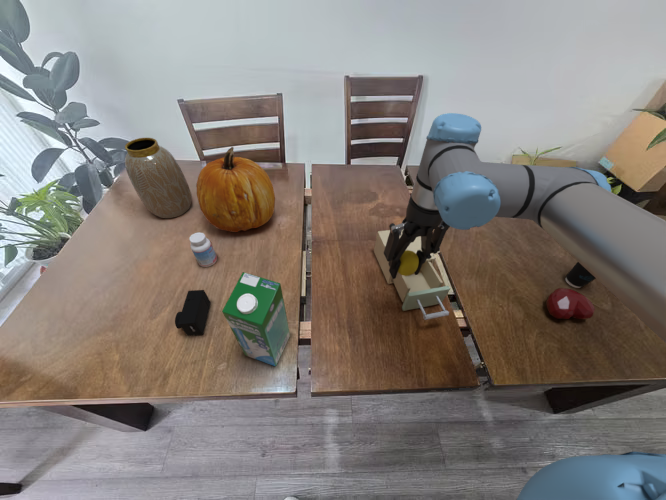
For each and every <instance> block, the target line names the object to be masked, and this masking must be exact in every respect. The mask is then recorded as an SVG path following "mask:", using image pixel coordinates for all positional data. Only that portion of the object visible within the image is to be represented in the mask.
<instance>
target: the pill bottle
mask: <svg viewBox="0 0 666 500" xmlns="http://www.w3.org/2000/svg"><path fill="white" fill-rule="evenodd" d="M188 239H189V242H190V250H191V252H192V254H193V255H194V258H195V259H196V262H197V263H198V265H199V266H200V267H203V268H208V267H212V266H213V265H215V264H216V263H217V261H218V255H217V253H216V251H215V248H214V247H213V244H212V242H211V240H210V238H208V237H206V234H205V233H204V232H199V231H197V232H193V233H192V234H191V235H190V236H189V238H188Z"/></svg>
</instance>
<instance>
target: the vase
mask: <svg viewBox="0 0 666 500" xmlns="http://www.w3.org/2000/svg"><path fill="white" fill-rule="evenodd" d="M124 150H125V151H126V152H127V153H126V154H125V158H124V167H125V171H126V173H127V175H128V178H129V180H130V183H131V184H132V187H133V189H134V191H135V192H136V194H137V196H138V198H139V199H140V201H141V202H142V204H143V205H144V207H145V208H146V209H147V211H149V212H150V213H152V214H153V215H154V216H157V217H158V218H162V219H171V218H176V217H180V216H182V215H183V214H185V213H186V212H188V210H190V208H191V204H192V199H193V196H192V192H191V189H190V186H189V184H188V183H189V182H188V181H187V179H186V177H185V175H184V173H183V170H182V168H181V167H180V165H179V163H178V162H177V160H176V158H175V156H174V155H173V154H172V153H171V151H169V150H168V149H167V148H165V147H163V146H162V145H160V144H159V143H158V140H157V139H155V138H153V137H139V138H135V139H132V140H130V141H128V142H127V143H125V145H124Z"/></svg>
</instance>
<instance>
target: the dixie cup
mask: <svg viewBox="0 0 666 500" xmlns="http://www.w3.org/2000/svg"><path fill="white" fill-rule="evenodd" d="M564 280H565V282H566V283H567V285H569V286H570V287H572V288H574V289H580V288H583V287H585V286H586V285H588V284H590V283H592V282H593V281H594V280H597V279H596V278H595V277H594V276H593V275H592V274H591V273H590V272H589V271H588V270H587V269H585V268H584V267H583V266H582V265H581V264H580V263H579V262H578V261H576V263H575V264H574V266H573V267H572V268H571V269H570V271H569V272H568V273H567V274H566V276H565V279H564Z"/></svg>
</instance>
